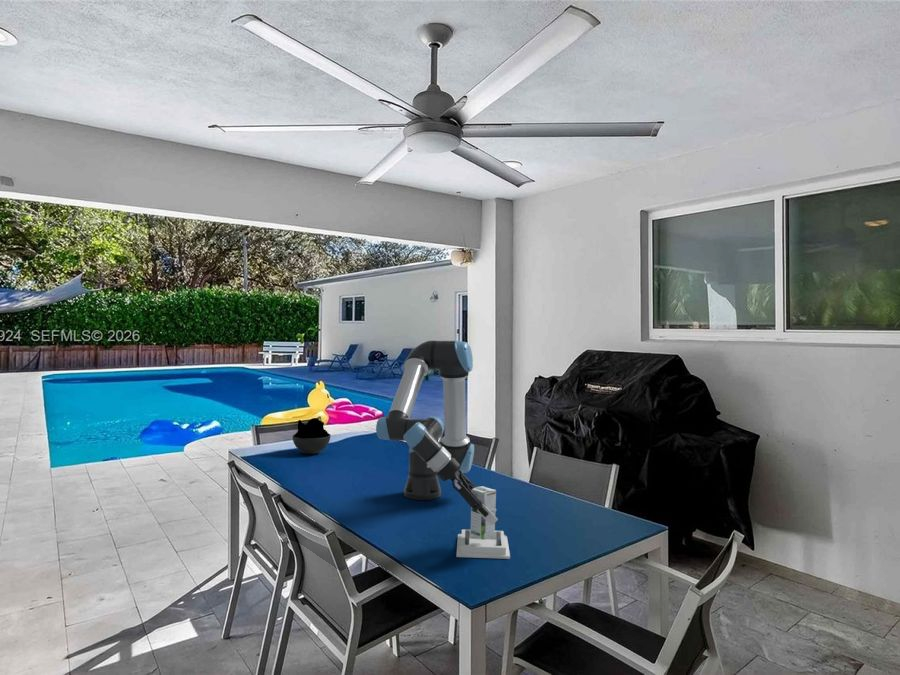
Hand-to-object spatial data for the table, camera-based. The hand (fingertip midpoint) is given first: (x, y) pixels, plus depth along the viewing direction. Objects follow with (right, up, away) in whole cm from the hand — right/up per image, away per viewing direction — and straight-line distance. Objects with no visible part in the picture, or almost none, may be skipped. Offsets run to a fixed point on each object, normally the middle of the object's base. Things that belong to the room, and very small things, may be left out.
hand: (493, 517), depth 166 cm
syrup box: (-4, -6, 0) cm, 7 cm away
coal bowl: (-89, -7, +122) cm, 151 cm away
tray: (-3, -9, +1) cm, 10 cm away
